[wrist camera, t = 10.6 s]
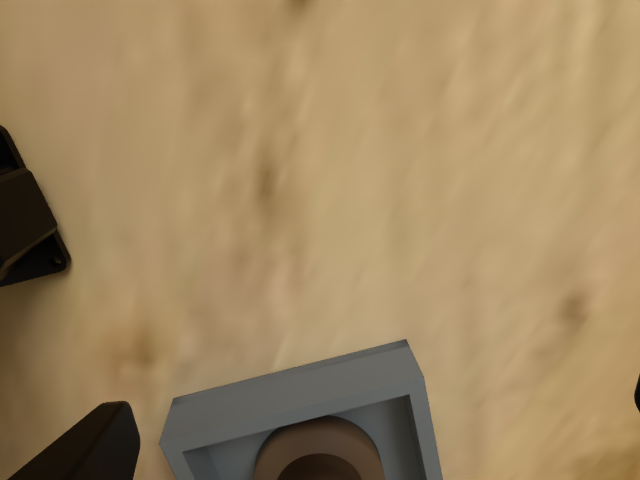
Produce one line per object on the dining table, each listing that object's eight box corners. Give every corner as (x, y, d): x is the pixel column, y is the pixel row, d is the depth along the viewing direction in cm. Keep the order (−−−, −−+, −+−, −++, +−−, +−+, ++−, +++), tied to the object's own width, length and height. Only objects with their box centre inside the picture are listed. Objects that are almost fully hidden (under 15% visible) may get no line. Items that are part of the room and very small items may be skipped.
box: (244, 551, 27) (240, 605, 25) (173, 398, 23) (158, 443, 20) (438, 502, 27) (456, 551, 25) (406, 339, 23) (423, 376, 20)
